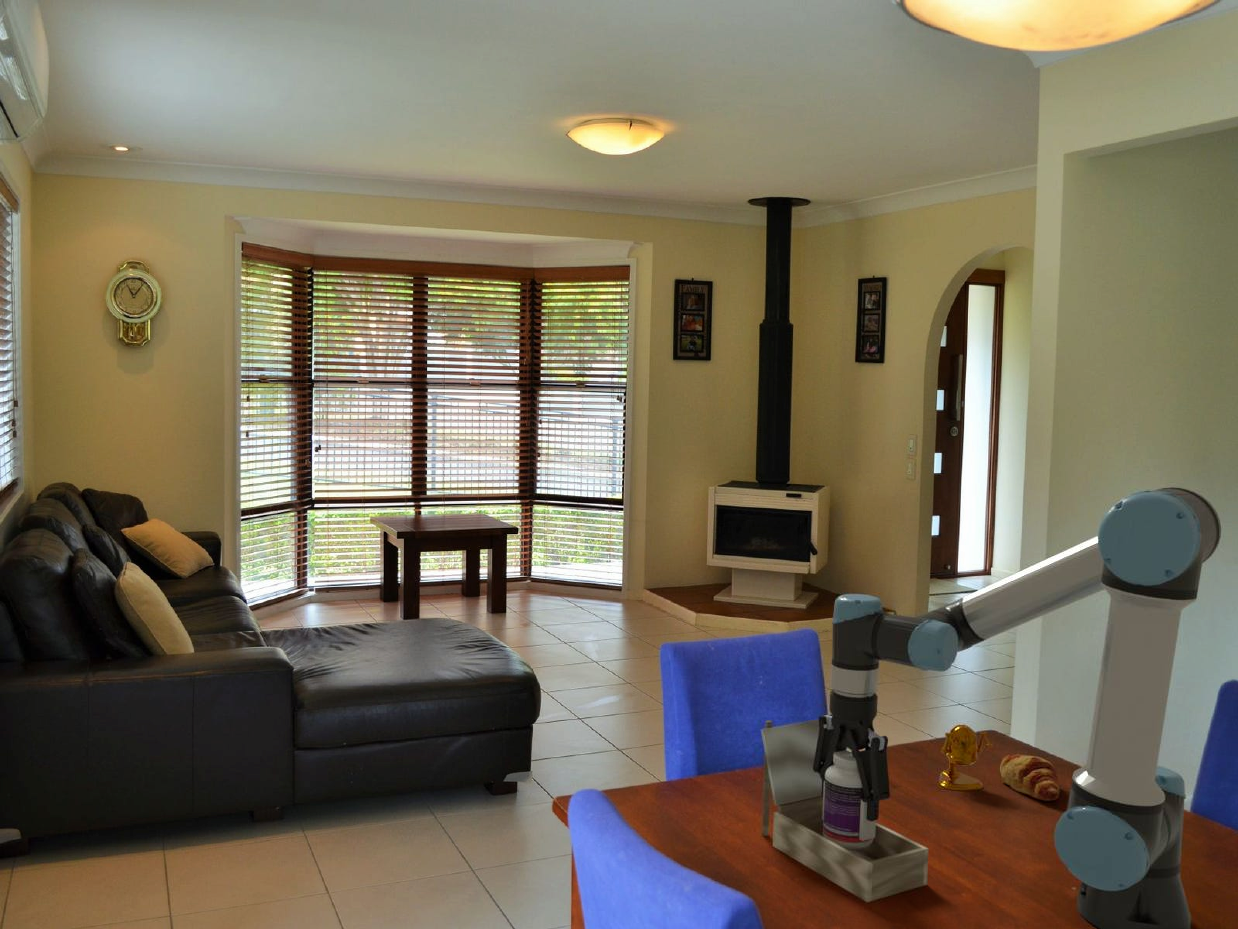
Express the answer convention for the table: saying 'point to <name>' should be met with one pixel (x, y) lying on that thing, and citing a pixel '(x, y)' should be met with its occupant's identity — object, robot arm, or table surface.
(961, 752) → the figurine
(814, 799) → the grey wooden hinged box
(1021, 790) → the croissant
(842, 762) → the pill bottle
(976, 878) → the table surface
